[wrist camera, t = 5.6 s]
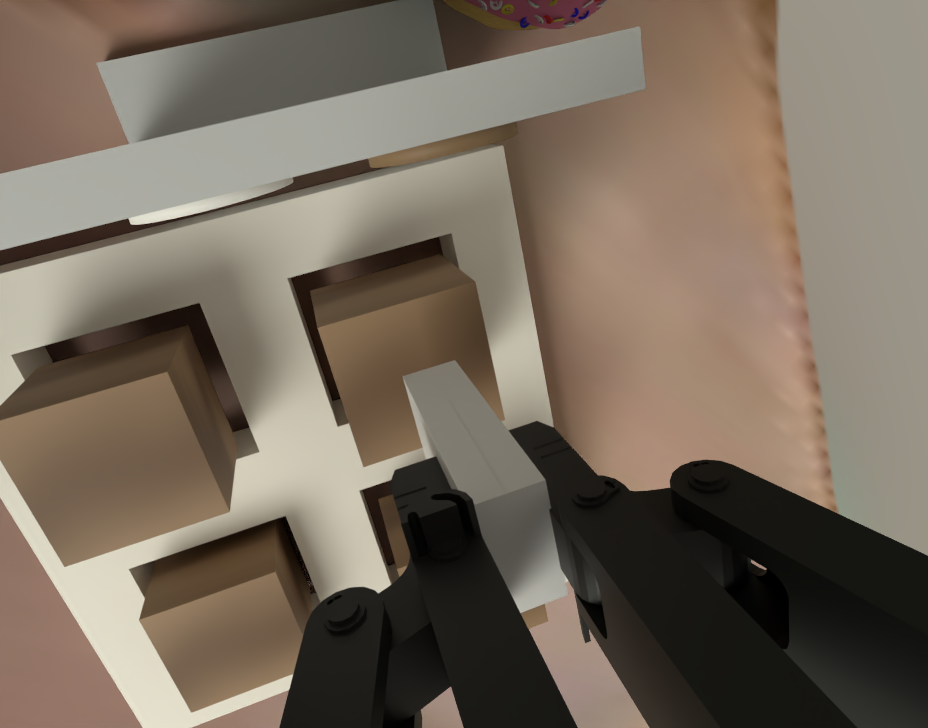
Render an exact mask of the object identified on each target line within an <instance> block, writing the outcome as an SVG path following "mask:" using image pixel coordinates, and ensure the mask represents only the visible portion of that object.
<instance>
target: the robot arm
mask: <svg viewBox="0 0 928 728" xmlns="http://www.w3.org/2000/svg"><path fill="white" fill-rule="evenodd" d="M403 380H404V383H405V387H406V391H407V394H408V398H409V401H410V405H411V408H412V412H413V415H414V419H415V422H416V426H417V430H418V433H419V437H420V440H421V444H422V447H423V451H424V454H425V458H426V460H423V461H420V462H417V463H414V464H411V465H408V466H405V467H402V468H399V469H396V470H395V471H394V474H393V476H392V479H391V482H390V488H391V491H392V494H393V497H394V501H395V504H396V507H397V511H398V514H399V517H400V521H401V526H402V529H403V532H404V536H405V539H406V542H407V545H408V548H409V551H410V559H409V563H408V566H407V568H406V569H405V571H404V573H403V574H402V575H401V576H400V577H399V578H398V579H397V581H395V582H394V583H393V584H391V585H390V586H389V587H387V588H386V589H384V590H383V591H381V592H380V593H377V592H376V591H375V590H373V589H370V588H366V587H350V588H347V589H344V590H341V591H338V592H335V593H334V594H332V595H331V596H329V597H327V598H326V599H324V600H323V601H322V602H321V603H320V604H319V605H318V606H317V607H316V608H315V609H314V610H313V611H312V613H311V615H310V617H309V619H308V621H307V623H306V627H305V630H304V634H303V638H302V642H301V646H300V650H299V654H298V658H297V662H296V665H295V669H294V673H293V677H292V681H291V685H290V689H289V693H288V697H287V700H286V704H285V708H284V712H283V716H282V720H281V724H280V728H422V714H421V709H422V708H423V707H425V706H426V705H427V704H429V703H430V702H431V701H432V700H434V699H435V698H436V697H438V696H439V695H440V694H441V693H443V692H444V691H445V690H447V689H448V688H449V687H450V686H451V688H452V691H453V694H454V697H455V701H456V704H457V707H458V710H459V714H460V717H461V720H462V723H463V727H464V728H578V727H577V725H576V723H575V721H574V719H573V717H572V715H571V713H570V711H569V709H568V707H567V705H566V703H565V701H564V699H563V697H562V695H561V693H560V691H559V689H558V687H557V685H556V683H555V681H554V679H553V677H552V675H551V673H550V671H549V669H548V667H547V665H546V663H545V661H544V659H543V657H542V655H541V653H540V651H539V649H538V647H537V645H536V643H535V641H534V639H533V637H532V635H531V633H530V631H529V629H528V627H527V625H526V623H525V621H524V619H523V617H522V615H521V613H522V612H524V611H527V610H530V609H532V608H535V607H537V606H540V605H543V604H545V603H548V602H550V601H553V600H556V599H558V598H561V597H563V596H566V595H568V592H567V586H566V581H565V576H566V578H567V579H568V581H569V582H570V584H571V586H572V587H573V589H574V592H575V598H576V603H577V608H578V613H579V618H580V624H581V629H582V634H583V637H584V640H585V643H587V642H589V641H591V640H590V635H589V629H590V631H591V633H592V634H593V636H594V638H595V639H596V641H597V642H598V644H599V646H600V647H601V649H602V651H603V652H604V654H605V656H606V657H607V659H608V660H609V662H610V664H611V665H612V667H613V669H614V670H615V672H616V674H617V675H618V677H619V678H620V680H621V682H622V683H623V685H624V687H625V688H626V690H627V691H628V693H629V695H630V696H631V698H632V700H633V701H634V703H635V705H636V706H637V708H638V709H639V711H640V713H641V714H642V716H643V718H644V719H645V721H646V722H647V724H648V726H649V727H650V728H928V556H927V555H925V554H923V553H921V552H919V551H917V550H914V549H912V548H910V547H908V546H906V545H904V544H902V543H899V542H897V541H895V540H893V539H891V538H889V537H887V536H884V535H882V534H880V533H878V532H876V531H873V530H871V529H869V528H867V527H865V526H863V525H861V524H859V523H857V522H854V521H852V520H850V519H848V518H846V517H844V516H842V515H839V514H837V513H835V512H833V511H831V510H829V509H827V508H824V507H822V506H820V505H818V504H816V503H814V502H812V501H809V500H807V499H805V498H803V497H801V496H799V495H797V494H794V493H792V492H790V491H788V490H786V489H784V488H782V487H779V486H777V485H775V484H773V483H771V482H769V481H767V480H764V479H762V478H760V477H758V476H756V475H754V474H752V473H749V472H747V471H745V470H743V469H741V468H739V467H737V466H734V465H732V464H729V463H725V462H722V461H715V460H700V461H693V462H690V463H687V464H684V465H682V466H680V467H679V468H678V469H676V470H675V471H674V472H673V473H672V476H671V479H670V487H671V488H665V489H657V490H650V491H630V490H629V489H628V488H627V487H626V486H625V485H624V484H622V483H621V482H619V481H618V480H616V479H614V478H610V477H606V476H598V475H597V474H596V473H595V472H594V471H593V470H592V469H591V468H590V467H589V465H588V464H587V463H586V462H585V461H584V460H583V459H582V458H581V457H580V456H579V455H578V453H577V452H576V451H575V450H574V449H572V448H571V446H570V445H569V444H568V443H567V441H566V440H564V439H563V437H562V436H561V435H560V434H559V433H558V432H557V431H556V429H555V428H554V427H551V426H549V425H546V424H544V423H541V422H539V421H535V422H532V423H529V424H526V425H523V426H520V427H517V428H514V429H511V430H508V429H507V428H506V427H505V426H504V424H503V423H502V422H501V420H500V419H499V418H498V416H497V415H496V414H495V412H494V411H493V410H492V408H491V407H490V406H489V404H488V403H487V402H486V400H485V399H484V398H483V396H482V395H481V394H480V392H479V391H478V390H477V388H476V387H475V386H474V385H473V383H472V382H471V381H470V379H469V378H468V377H467V375H466V374H465V373H464V371H463V370H462V369H461V367H460V366H459V365H458V363H457V362H456V361H455V360H454V361H450V362H447V363H444V364H441V365H438V366H434V367H431V368H428V369H425V370H421V371H418V372H415V373H412V374H408V375H405V376H403ZM751 559H752V560H753V561H755V562H757V563H758V564H760V565H762V566H763V567H765V568H767V570H764V569H761V568H759V567H757V566H756V565H754V564H752V563H751ZM564 575H565V576H564Z"/></svg>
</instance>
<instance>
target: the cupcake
mask: <svg viewBox="0 0 928 728" xmlns="http://www.w3.org/2000/svg"><path fill="white" fill-rule="evenodd" d="M443 1H444V2H445V3H446V4H447V5H449V6H450V7H451V8H453V9H455V10H456V11H458V12H460V13H462V14H464V15H466V16H468V17H471V18H473V19H475V20H477V21H478V22H480V23H482V24H484V25H486V26H488V27H491V28H494V29H499V30H531V29H537V28H549V29H560V28H565V27H571V26H574V25H575V24H576V23H577V22H579V21H581V20H583V19H585V18H587V17H588V16H590V15H591V14H593V13H594V12H596V11H597V10H598V9H599V8H600V7H601V6H603V5H604V4H605V3H606V2H607V0H443Z"/></svg>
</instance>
